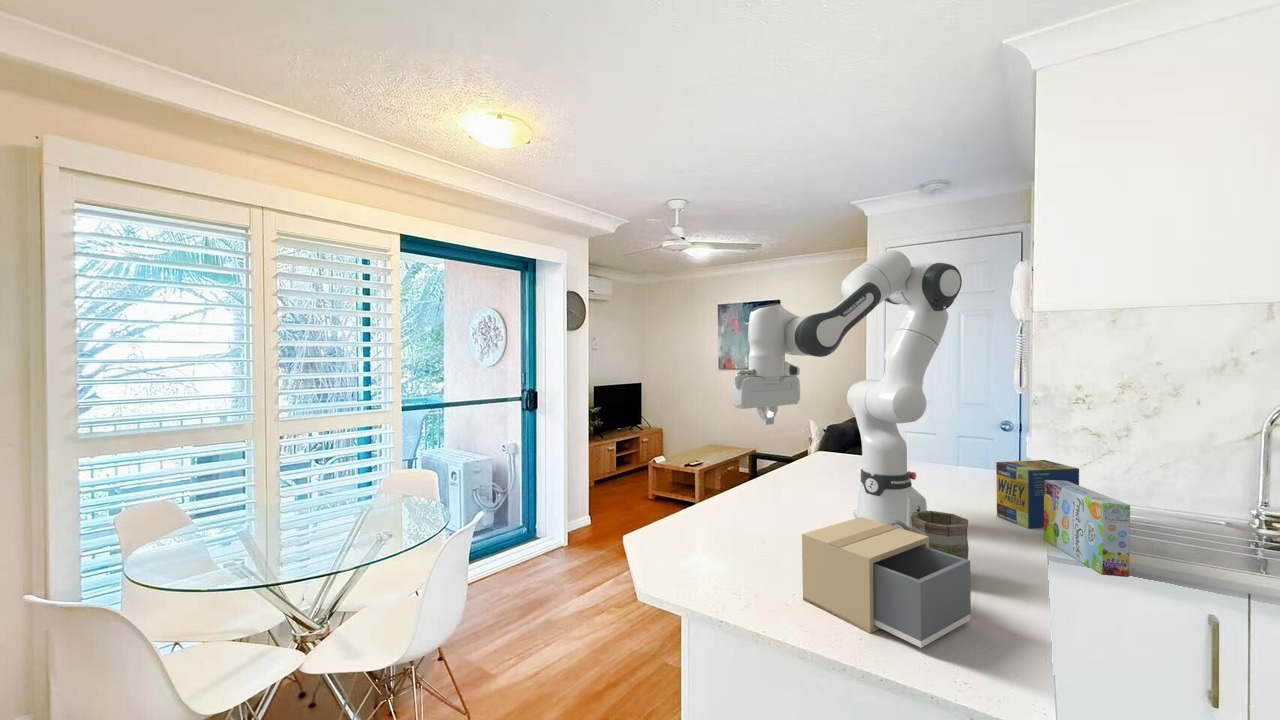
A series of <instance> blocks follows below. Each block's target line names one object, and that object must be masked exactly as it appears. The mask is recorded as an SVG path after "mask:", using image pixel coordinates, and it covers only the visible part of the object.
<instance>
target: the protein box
mask: <svg viewBox="0 0 1280 720" xmlns="http://www.w3.org/2000/svg"><path fill="white" fill-rule="evenodd" d="M995 464H996V468H995V469H996V471H995V472H996V475H995V477H996V517H997V516H998V518H1000V519H1002V520H1003V519H1004V520H1005V521H1008V522H1010V523H1013V524H1015V525H1018V526H1021V527H1023V528H1025V529H1044V528H1043V527H1044V480H1060V481H1069V482H1071V483H1074V484H1076V485H1079V486H1080V468H1079V467H1074V466H1072V465H1071V466H1070V465H1067V464H1062V463H1059V462H1054V461H1050V460H1045V459H1037V460H1036V459H1035V460H1017V461H1016V460H1014V461H1011V460H1010V461H996V462H995Z"/></svg>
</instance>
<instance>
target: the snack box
mask: <svg viewBox="0 0 1280 720" xmlns="http://www.w3.org/2000/svg"><path fill="white" fill-rule="evenodd" d="M1130 535H1131V504H1129V503H1126V502H1123V501H1120V500H1119V499H1115V498H1112V497H1110V496H1108V495H1105V494H1102V493H1099V492H1097V491H1094V490H1092V489H1089V488H1086V487H1084V486H1082V485H1080V484H1079V485H1076V484H1074V483H1071V482H1069V481H1060V480H1044V528H1043V540H1044V541H1046V542H1047V543H1050V544H1051V545H1053V546H1054V547H1055V548H1057V549H1059V550H1060V551H1062V552H1064V553H1065V554H1067V555H1069V556H1071V557H1072V558H1074V559H1075V560H1076V561H1078V562H1080V563H1082V564H1083V565H1085V566H1087V567H1088V568H1090V569H1092V570H1093V571H1094V572H1096V573H1098V574H1100V575H1101V576H1110V577H1121V578H1123V577H1124V578H1129V577H1130V549H1131V547H1130V544H1131V543H1130V541H1131V540H1130V538H1131V536H1130Z"/></svg>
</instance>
